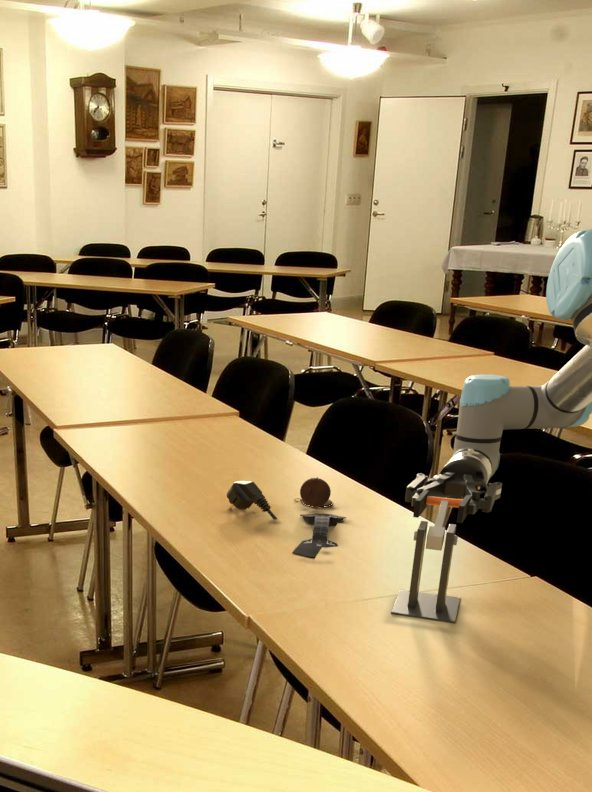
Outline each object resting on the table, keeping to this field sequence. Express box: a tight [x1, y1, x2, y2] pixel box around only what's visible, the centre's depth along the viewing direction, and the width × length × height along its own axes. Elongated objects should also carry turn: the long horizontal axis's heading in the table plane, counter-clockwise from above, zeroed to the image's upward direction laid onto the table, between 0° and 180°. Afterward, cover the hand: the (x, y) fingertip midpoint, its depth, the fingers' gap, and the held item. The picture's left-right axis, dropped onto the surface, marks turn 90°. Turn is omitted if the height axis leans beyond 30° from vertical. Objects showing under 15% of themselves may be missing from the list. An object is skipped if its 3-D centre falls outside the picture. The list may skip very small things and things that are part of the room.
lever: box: [425, 496, 463, 551], centre depth 139 cm, size 13×6×2 cm, turn 154°
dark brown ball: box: [293, 476, 334, 509], centre depth 191 cm, size 8×8×7 cm
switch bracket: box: [390, 520, 462, 624], centre depth 138 cm, size 10×9×14 cm
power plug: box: [226, 480, 278, 520], centre depth 188 cm, size 6×8×12 cm
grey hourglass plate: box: [291, 512, 347, 559], centre depth 173 cm, size 9×25×3 cm, turn 163°
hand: (438, 511), depth 139 cm, fingers closed on lever, 6 cm apart
